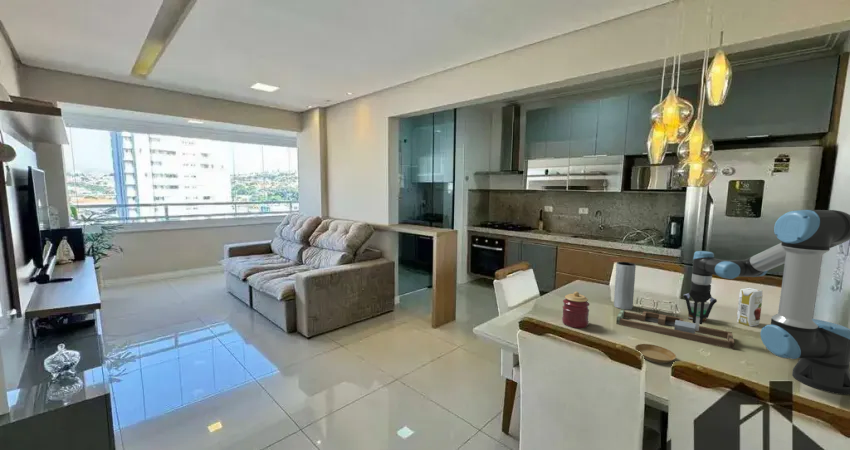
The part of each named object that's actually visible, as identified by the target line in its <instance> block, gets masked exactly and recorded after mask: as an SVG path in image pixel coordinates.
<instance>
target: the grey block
mask: <svg viewBox="0 0 850 450" xmlns="http://www.w3.org/2000/svg"><path fill="white" fill-rule="evenodd" d="M673 327H674V326H673ZM673 329H674V330H679V331H684V332H689V333H693V334H696V332H695V323H693V322H689V321H684V320H683V321H679V320H675V327H674V328H673Z"/></svg>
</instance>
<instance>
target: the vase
mask: <svg viewBox="0 0 850 450" xmlns="http://www.w3.org/2000/svg"><path fill="white" fill-rule="evenodd" d="M636 265H637V264H635V263H633V262H629V261H627V262H626V261H618V262H617V261H616V266H615V267H616V268H615V269H616V270H615V282H614V284H615V285H614V299H613V306H614V307H615V308H617V309H620V310H621V309H624V311H625V310H627V311H629V310H632V309H633V308H634V307H633V306H634V295H635V282H636V281H635V279H636Z"/></svg>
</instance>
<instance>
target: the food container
mask: <svg viewBox="0 0 850 450" xmlns="http://www.w3.org/2000/svg"><path fill="white" fill-rule="evenodd" d="M709 304H710V302H708V301H706V302H704V313H703V315H704V314H705V313H706V311H707V309H708V306H709ZM690 306H691V311H692V312H694V302H690ZM700 309H701V302H698V304H697V314H696V316H699V317H700ZM687 315H688V319H687V320H689V321H692V322H693V316H692V315H689V313H688V314H687ZM705 322H707V318H703V323H705Z"/></svg>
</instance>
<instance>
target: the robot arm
mask: <svg viewBox="0 0 850 450" xmlns="http://www.w3.org/2000/svg"><path fill="white" fill-rule="evenodd" d="M773 229H774V230H773V231H774V235H775V236H776V238H777V239H778V240H779V241H781V242H779V243H778V244H775V245H773V246H771V247H768V248H767V249H765V250H763V251H761V252H759V253H757V254H754V255H752V256H750V257H748V258H746V259H721V258H720V259H719V258H715V253H714V252H712V251H706V250H696V251H695V252H694V253H693V259H692V260H693V261H692V273H691V283H690V290H689V292H688V293H683V298H684V299H685V302H686V307H687V312H688V313H689V315H692V316H693V321H692V323H695V330H696V331H699V326H700V325H702V324H703V323H704V322H703V318H706V319H707V318H709V316H710V313H711V311H712V310H713V307H714V305H715V304H717V302H718V301H717V298H714V297H713V296H712V294H711V289H712V285H711V284H712V279H713V275H714V276H717V277H720V278H722V279H728V280H733V279H736V278H738V277H745V278H746V277H747V278H748V277H750V278H755V277H756V278H757V277H763V276H765V275H766V274H767V273H768V271H770V270H771V269H775V268H777V267H779V266H783V273H782V281H781V289H780V296H779V301H778V302H779V303H778V312H777V314H773V315H772V316H771V319H770V324H766V325H765V326H763V327H762V328H761V330H760V339H761V342H762V344H763V345H764V346H765V348H766V349H767V350H768V351H769V352H770V353H772V355H774V356H777V357H779V358H782V359H791V360H795V359H799V360H798V361H797V362H796V363H795V365H794V367H792V372H791V374H792V375H791V376H792V377H793V378H794V379H795V380H797V381H798V382H800V383H802V384H805V386H809V387H811V388H814V389H817V390H820V391H824V392H826V393H827V392H828V393H832V394H836V393H838V394H839V395H850V328H848V327H847V326H844V325H841V324H838V323H834V322H831V321H825V320H820V319H815V318H814V312H815V305H816V304H815V303H816V298H817V292H818V286H819V285H818V284H819V278H820V272H821V271H820V270H821V264H822V257H823V255H824V254H826V253H827V252H829V251H831V250H830V249H831V248H833V247H836V246H839V245H842V244H844V243H846V242H848V241H850V214H849V213H847V212H845V211H841V210H836V209H827V210H825V209H822V210H821V209H799V210H791V211H787V212H786V213H784V214H782V215H781V216H779V217H778V219H777V220H776V221H775V223H774V227H773ZM783 264H784V265H783ZM690 297H691V299H692V300H693V301H694V302H693V303H694V312H692V311H691V306H690V303H691V302H690ZM706 301H707V302H708V301H710V302H709V306H708V309H707V311H706V313H705V314H704V315H703V313H704V302H706ZM698 302H701V309H700V317H699V316H696V314H697V304H698Z"/></svg>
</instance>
